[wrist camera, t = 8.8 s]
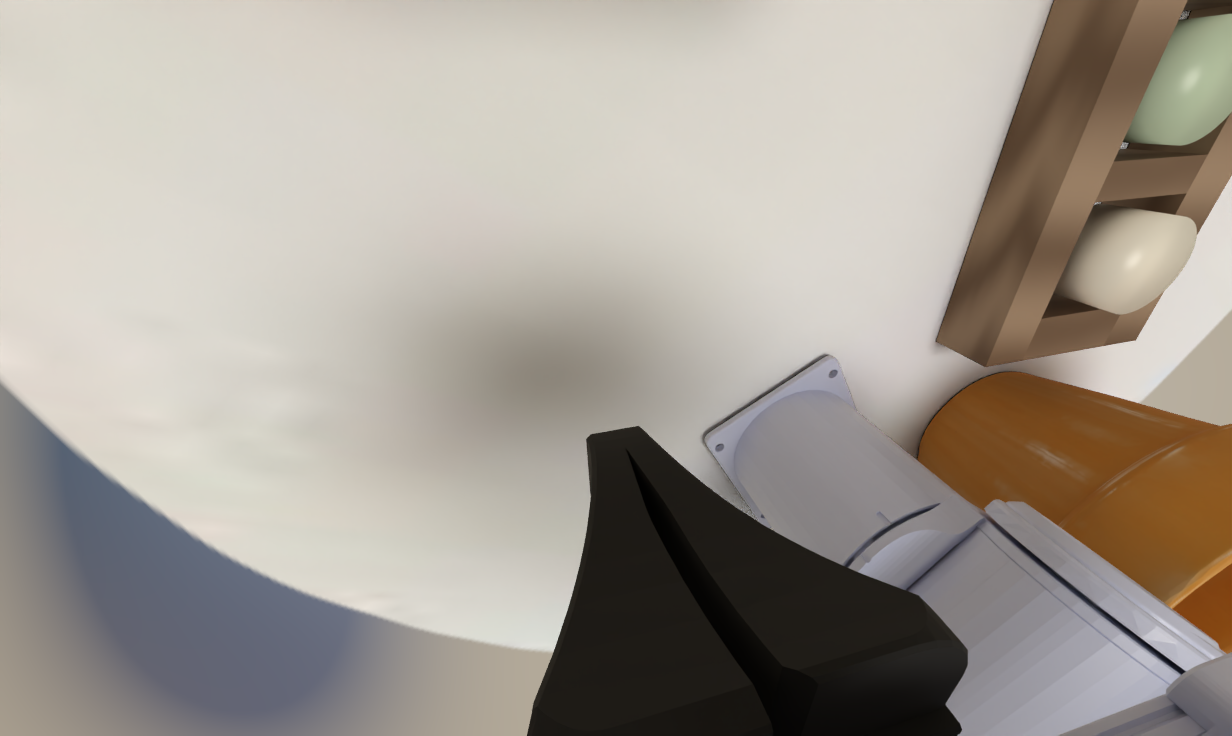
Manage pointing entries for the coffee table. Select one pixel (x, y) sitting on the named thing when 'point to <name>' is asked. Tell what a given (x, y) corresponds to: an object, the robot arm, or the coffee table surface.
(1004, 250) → the wooden compartment tray
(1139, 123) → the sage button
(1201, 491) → the flower pot
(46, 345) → the coffee table surface
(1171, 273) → the cream button
